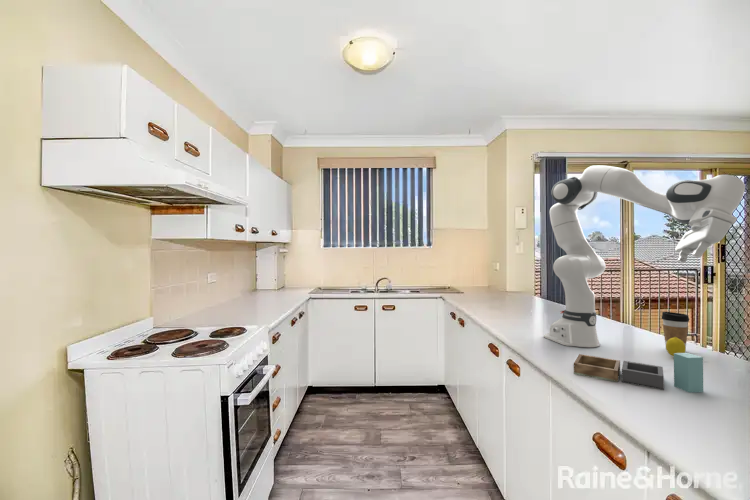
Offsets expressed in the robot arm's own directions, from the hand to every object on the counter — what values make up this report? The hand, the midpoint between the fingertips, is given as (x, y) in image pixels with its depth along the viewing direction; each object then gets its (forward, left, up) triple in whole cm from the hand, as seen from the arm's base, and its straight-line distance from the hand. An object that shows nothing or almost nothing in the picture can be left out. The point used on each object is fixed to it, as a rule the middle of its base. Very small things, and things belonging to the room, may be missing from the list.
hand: (688, 259), depth 109 cm
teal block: (+5, -11, -38) cm, 40 cm away
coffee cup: (-19, +29, -38) cm, 51 cm away
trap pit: (-4, -16, -38) cm, 41 cm away
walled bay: (-14, -22, -38) cm, 46 cm away
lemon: (-13, +18, -38) cm, 44 cm away
